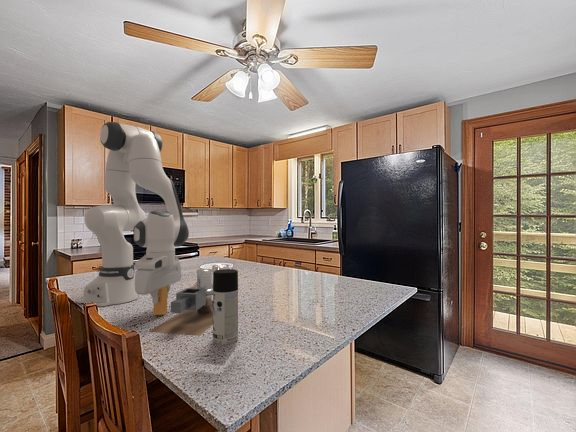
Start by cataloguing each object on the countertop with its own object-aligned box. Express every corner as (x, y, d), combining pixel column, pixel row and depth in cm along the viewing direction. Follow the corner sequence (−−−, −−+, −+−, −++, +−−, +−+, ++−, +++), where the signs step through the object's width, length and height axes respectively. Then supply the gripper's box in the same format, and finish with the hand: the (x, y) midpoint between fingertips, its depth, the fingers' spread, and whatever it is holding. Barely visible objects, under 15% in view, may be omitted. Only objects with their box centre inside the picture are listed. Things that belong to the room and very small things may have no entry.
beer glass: (225, 307, 113) (225, 267, 112) (208, 305, 114) (208, 266, 114) (232, 301, 119) (232, 264, 119) (216, 300, 121) (216, 263, 121)
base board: (148, 336, 86) (148, 331, 86) (193, 308, 111) (193, 304, 111) (200, 340, 83) (200, 335, 83) (233, 310, 108) (233, 306, 108)
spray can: (215, 339, 83) (214, 268, 83) (239, 338, 84) (239, 268, 84) (211, 350, 77) (210, 273, 77) (237, 349, 77) (236, 273, 77)
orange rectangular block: (153, 314, 98) (153, 281, 98) (159, 311, 101) (159, 279, 101) (161, 315, 97) (161, 281, 97) (167, 312, 100) (167, 279, 100)
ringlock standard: (158, 330, 86) (158, 281, 86) (197, 305, 109) (197, 266, 109) (193, 333, 84) (193, 282, 84) (225, 307, 107) (225, 267, 107)
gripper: (170, 254, 110) (170, 291, 110) (130, 264, 90) (130, 309, 90) (186, 255, 108) (185, 293, 109) (149, 265, 88) (149, 311, 89)
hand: (160, 300), depth 99 cm, fingers closed on orange rectangular block, 3 cm apart
